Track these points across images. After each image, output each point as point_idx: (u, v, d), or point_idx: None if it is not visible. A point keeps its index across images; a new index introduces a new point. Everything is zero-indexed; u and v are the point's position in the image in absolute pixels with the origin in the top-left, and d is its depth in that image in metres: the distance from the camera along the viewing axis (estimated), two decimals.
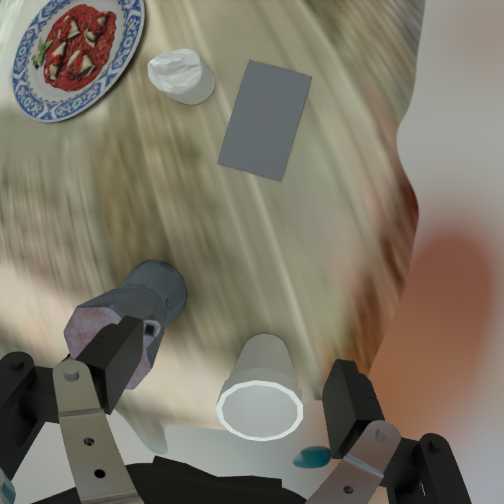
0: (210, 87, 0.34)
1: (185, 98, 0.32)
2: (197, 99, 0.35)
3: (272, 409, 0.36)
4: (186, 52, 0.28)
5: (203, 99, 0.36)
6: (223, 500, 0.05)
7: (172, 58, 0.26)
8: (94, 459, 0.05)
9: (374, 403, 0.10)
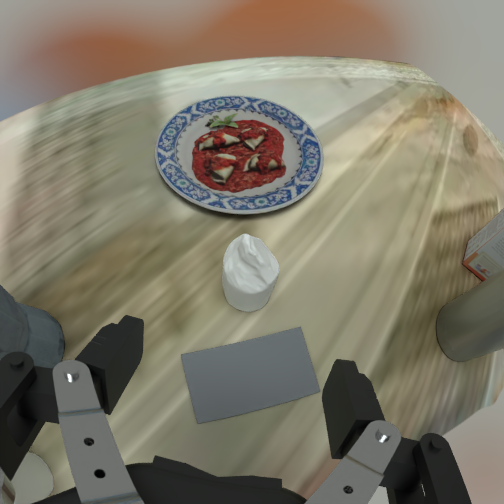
0: (252, 307, 0.35)
1: (227, 290, 0.33)
2: (233, 302, 0.35)
3: None
4: (273, 264, 0.31)
5: (237, 307, 0.36)
6: (223, 500, 0.05)
7: (259, 254, 0.28)
8: (94, 459, 0.05)
9: (374, 403, 0.10)
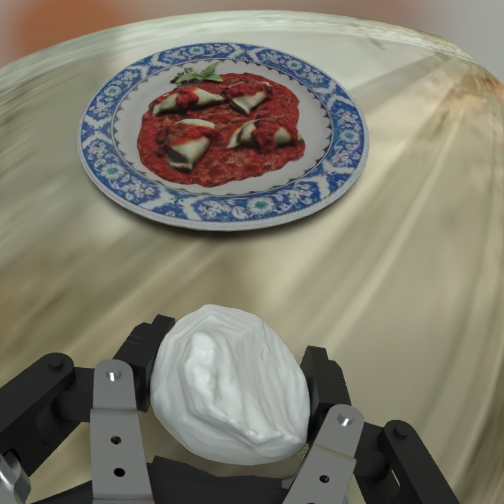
0: None
1: None
2: None
3: None
4: (295, 397, 0.10)
5: None
6: (223, 500, 0.05)
7: (253, 406, 0.07)
8: (117, 458, 0.05)
9: (342, 389, 0.10)
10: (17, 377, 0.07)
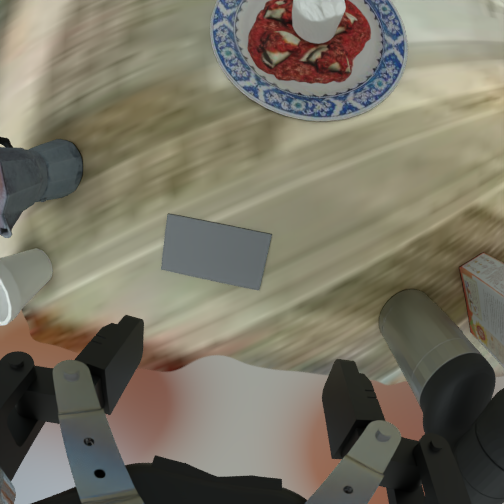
0: (310, 37, 0.30)
1: (293, 12, 0.27)
2: (295, 25, 0.30)
3: None
4: (339, 7, 0.23)
5: (297, 32, 0.31)
6: (223, 500, 0.05)
7: None
8: (94, 459, 0.05)
9: (374, 403, 0.10)
10: None
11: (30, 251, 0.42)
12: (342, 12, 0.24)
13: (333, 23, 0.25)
